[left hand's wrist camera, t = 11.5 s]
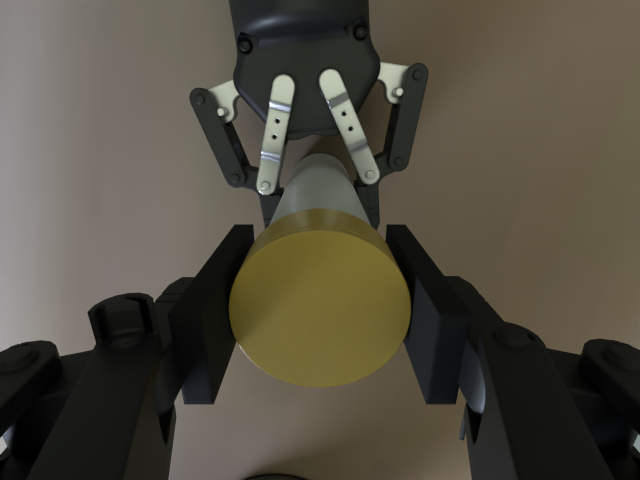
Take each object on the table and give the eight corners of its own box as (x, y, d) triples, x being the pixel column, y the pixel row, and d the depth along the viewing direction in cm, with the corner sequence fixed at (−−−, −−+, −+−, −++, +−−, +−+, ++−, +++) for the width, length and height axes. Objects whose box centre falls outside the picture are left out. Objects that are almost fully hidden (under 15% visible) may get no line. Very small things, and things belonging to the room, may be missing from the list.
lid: (316, 173, 11) (316, 188, 9) (426, 278, 12) (449, 313, 10) (214, 283, 12) (190, 319, 10) (322, 366, 13) (322, 413, 11)
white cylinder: (318, 140, 27) (316, 199, 9) (360, 181, 29) (432, 306, 10) (279, 183, 29) (208, 311, 10) (321, 221, 30) (322, 394, 12)
